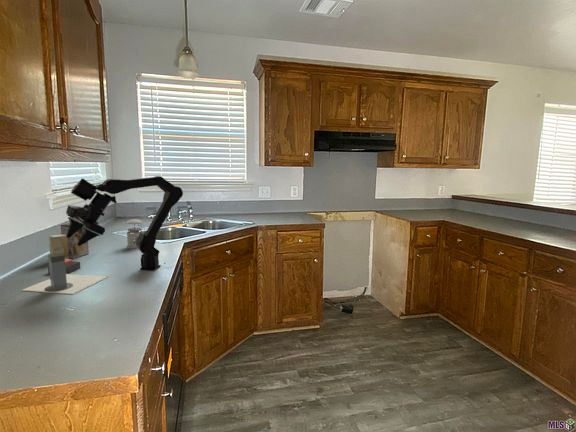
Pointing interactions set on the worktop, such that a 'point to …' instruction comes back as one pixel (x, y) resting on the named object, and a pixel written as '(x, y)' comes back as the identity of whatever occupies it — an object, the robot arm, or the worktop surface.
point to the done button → (68, 261)
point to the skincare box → (59, 245)
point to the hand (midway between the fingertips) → (72, 241)
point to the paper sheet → (73, 284)
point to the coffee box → (75, 242)
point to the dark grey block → (57, 271)
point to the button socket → (70, 267)
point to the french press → (133, 232)
